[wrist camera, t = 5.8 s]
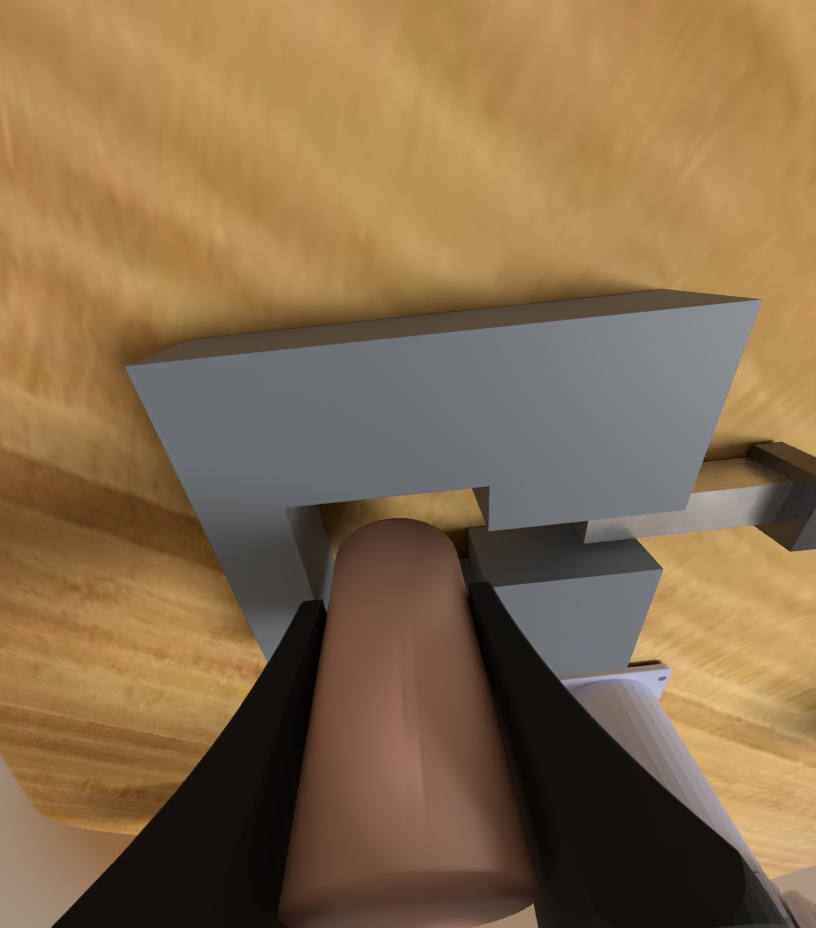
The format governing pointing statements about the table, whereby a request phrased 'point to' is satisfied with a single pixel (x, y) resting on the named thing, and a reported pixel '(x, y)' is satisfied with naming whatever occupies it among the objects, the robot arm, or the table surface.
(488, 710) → the peg
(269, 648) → the mount board
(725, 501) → the lock pin
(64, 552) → the table surface
